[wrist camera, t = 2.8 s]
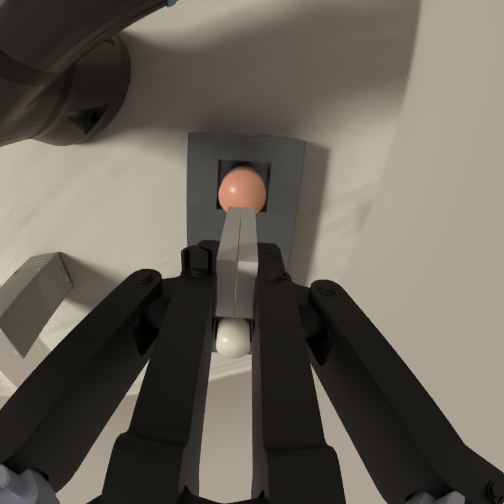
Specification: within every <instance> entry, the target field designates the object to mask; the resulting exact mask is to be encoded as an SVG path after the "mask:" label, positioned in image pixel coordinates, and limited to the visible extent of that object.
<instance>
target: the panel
mask: <svg viewBox="0 0 504 504" xmlns="http://www.w3.org/2000/svg"><path fill="white" fill-rule="evenodd" d="M304 150H305V141H303V140H300V139H295V138H287V137H277V136H267V135H256V134H242V133H224V132H191V133H188V156H187V247H188V246H193V245H197V244H198V243H199V242H201V241H202V240H217V241H221V237H222V232H223V228H224V224H225V219H226V215H227V212H226V211H225V210H224V209H223V208H222V206H221V204H220V202H219V189H220V186H221V184H222V182H223V179H224V177H225V175H226V174H227V173H228V172H229V171H230V170H231V169H233V168H235V167H238V166H248V167H251V168H253V169H255V170H256V171H257V172H258V173H259V174H260V175H261V177H262V179H263V183H264V187H265V191H266V200H265V203H264V205H263V207H262V209H261V210H260V211H259V212H258V213H256V214H255V219H256V235H257V242H258V243H273V244H276V245H277V246H278V247H279V248H280V250H281V255H282V259H283V264H284V268H285V271H286V272H287V269H288V263H289V257H290V251H291V244H292V238H293V231H294V225H295V218H296V211H297V204H298V197H299V189H300V182H301V174H302V166H303V158H304ZM240 225H241V220H240ZM239 238H240V235H239ZM238 251H239V250H238ZM234 316H235V305H234ZM223 318H225V317H219V316H216V314H215V330H214V338H213V346H212V352H218V351H217V349H216V341H217V333H218V325H219V322H220V321H221V320H222V319H223ZM244 319H245V320H246V321H247V322H248V323H249V326H250V338H251V329H252V319H253V317H252V319H250V318H244ZM218 353H219V352H218ZM247 354H252V340H250V350H249V352H248V353H247Z"/></svg>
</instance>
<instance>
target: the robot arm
mask: <svg viewBox="0 0 504 504" xmlns="http://www.w3.org/2000/svg"><path fill="white" fill-rule="evenodd" d="M176 1H178V0H0V147H1V146H5V145H8V144H12V143H15V142H19V141H22V140H26V139H34V140H37V141H41V142H44V143H48V144H51V145H55V146H67V145H72V144H76V143H80V142H83V141H86V140H88V139H90V138H92V137H94V136H95V135H97V134H98V133H99V132H100V131H102V130H103V129H104V128H105V127H106V126H107V125H108V124H109V123H110V121H111V120H112V119H113V117H114V116H115V115H116V113H117V112H118V110H119V108H120V106H121V104H122V102H123V100H124V98H125V95H126V92H127V89H128V85H129V80H130V59H129V54H128V51H127V49H126V47H125V45H124V44H123V42H122V41H121V40H120V39H119V38H118V37H117V36H116V35H115V34H117V33H118V32H120V31H122V30H123V29H125V28H126V27H128V26H130V25H131V24H133V23H135V22H137V21H138V20H140V19H142V18H144V17H145V16H147V15H149V14H151V13H153V12H155V11H157V10H159V9H161V8H163V7H165V6H167V8H168V7H171V6H173V5H175V4H176ZM240 220H241V225H240ZM239 235H240V238H239ZM238 250H239V251H238ZM181 262H182V272H181V274H180V276H178V277H174V278H167V279H162V276H161V274H160V273H159V272H158V271H156V270H153V269H141V270H138V271H135V272H134V273H132V274H131V275H130V276H129V277H127V278H126V279H125V280H124V281H123V282H122V283H121V284H120V285H119V286H118V287H116V288H115V289H114V290H113V291H112V292H111V293H110V294H109V295H108V296H107V297H106V298H105V299H104V300H103V301H101V302H100V303H99V304H98V305H97V306H96V307H95V308H94V309H93V310H92V311H91V312H90V313H89V314H88V315H87V316H86V317H85V318H84V319H83V320H82V321H81V322H80V323H79V324H78V325H77V326H76V327H75V328H74V329H73V330H72V331H71V332H70V333H69V334H68V335H67V336H66V337H65V338H64V339H63V340H62V341H61V342H60V343H59V344H58V345H57V346H56V347H55V348H54V349H53V350H52V351H51V353H50V354H49V355H48V356H47V357H46V358H45V359H44V360H43V361H42V362H41V363H40V364H39V365H38V367H37V368H36V369H35V370H34V371H33V372H32V373H31V374H30V375H29V377H28V378H27V379H26V380H25V381H24V382H23V383H22V385H21V386H20V387H19V388H18V389H17V390H16V392H15V393H14V394H13V395H12V396H11V398H10V399H9V400H8V401H7V403H6V404H5V405H4V406H3V407H2V409H1V410H0V504H60V502H59V500H58V498H56V495H55V493H57V492H58V491H59V490H61V489H62V488H63V487H64V485H66V483H68V482H69V481H70V479H71V478H72V477H73V475H74V474H75V472H76V471H77V470H78V468H79V466H80V465H81V463H82V462H83V460H84V458H85V457H86V455H87V454H88V452H89V450H90V449H91V447H92V445H93V444H94V442H95V441H96V439H97V438H98V436H99V435H100V433H101V432H102V430H103V428H104V427H105V425H106V424H107V422H108V420H109V419H110V417H111V416H112V415H113V413H114V411H115V410H116V408H117V407H118V405H119V404H120V402H121V401H122V399H123V398H124V396H125V395H126V393H127V392H128V390H129V389H130V387H131V386H132V384H133V383H134V381H135V380H136V378H137V377H138V375H139V374H140V372H141V371H142V369H143V368H144V366H145V365H146V363H147V362H148V360H149V359H150V360H149V363H148V366H147V370H146V373H145V376H144V379H143V382H142V385H141V389H140V392H139V395H138V399H137V402H136V405H135V409H134V412H133V416H132V419H131V423H130V426H129V429H128V430H127V432H125V433H122V434H120V435H119V436H118V437H117V439H116V441H115V444H114V446H113V450H112V453H111V457H110V461H109V465H108V469H107V473H106V477H105V482H104V486H103V490H102V495H100V496H98V497H96V498H95V499H93V500H92V501H90V502H88V503H87V504H223V503H218V502H214V501H211V500H208V499H205V498H202V497H199V462H200V452H201V442H202V431H203V422H204V413H205V404H206V395H207V386H208V378H209V370H210V361H211V353H212V346H213V338H214V330H215V314H216V316H219V317H234V318H250V319H252V317H253V319H252V329H251V338H250V340H252V435H253V436H252V441H253V442H252V443H253V478H252V490H251V499H250V500H245V501H239V502H234V503H227V504H346V501H345V495H344V488H343V482H342V477H341V471H340V466H339V461H338V457H337V453H336V452H335V450H334V448H333V447H331V446H329V445H327V443H326V441H325V438H324V433H323V427H322V421H321V416H320V411H319V406H318V400H317V395H316V390H315V385H314V380H313V375H312V370H311V365H312V367H313V369H314V371H315V372H316V374H317V376H318V378H319V380H320V382H321V384H322V386H323V388H324V389H325V391H326V393H327V395H328V397H329V399H330V401H331V403H332V405H333V406H334V408H335V410H336V412H337V414H338V416H339V418H340V420H341V422H342V423H343V425H344V427H345V429H346V431H347V433H348V435H349V436H350V438H351V440H352V442H353V444H354V446H355V448H356V450H357V452H358V454H359V455H360V457H361V459H362V461H363V463H364V465H365V467H366V469H367V471H368V472H369V474H370V476H371V478H372V480H373V482H374V484H375V486H376V487H377V489H378V491H379V492H380V494H381V495H382V497H383V499H384V500H385V501H386V502H387V503H388V504H503V503H504V473H503V472H502V471H500V470H499V469H497V468H496V467H495V466H493V465H492V464H491V463H489V462H488V461H486V460H485V459H484V458H482V457H481V456H479V455H478V454H477V453H475V452H474V451H473V450H471V449H470V448H469V447H467V446H466V445H465V444H464V443H463V441H462V440H461V438H460V437H459V435H458V434H457V432H456V431H455V430H454V428H453V427H452V425H451V424H450V422H449V421H448V420H447V418H446V417H445V415H444V414H443V413H442V411H441V410H440V409H439V407H438V406H437V405H436V403H435V402H434V400H433V399H432V398H431V396H430V395H429V394H428V392H427V391H426V390H425V389H424V387H423V386H422V385H421V383H420V382H419V381H418V379H417V378H416V377H415V375H414V374H413V373H412V372H411V370H410V369H409V368H408V366H407V365H406V364H405V363H404V361H403V360H402V359H401V357H400V356H399V355H398V354H397V352H396V351H395V350H394V349H393V348H392V346H391V345H390V344H389V343H388V341H387V340H386V339H385V338H384V336H383V335H382V334H381V333H380V332H379V330H378V329H377V328H376V327H375V325H374V324H373V323H372V322H371V321H370V319H369V318H368V317H367V316H366V315H365V314H364V313H363V311H362V310H361V309H360V308H359V307H358V305H357V304H356V303H355V302H354V301H353V299H352V298H351V297H350V296H349V295H348V294H347V292H346V291H345V290H344V289H343V288H342V287H341V286H340V285H339V284H337V283H335V282H333V281H330V280H316V281H314V282H313V283H311V287H310V288H308V287H304V286H301V285H297V284H295V283H293V282H292V279H291V276H290V275H289V274H288V273H287V272H286V271H285V268H284V264H283V259H282V255H281V250H280V248H279V247H278V246H277V245H276V244H273V243H258V242H257V235H256V219H255V208H245V207H242V213H241V207H230V206H229V207H228V211H227V215H226V219H225V224H224V228H223V232H222V237H221V241H217V240H202V241H201V242H199V243H198V244H197V245H193V246H188V247H186V248H184V249H183V250H182V251H181ZM237 263H238V266H237ZM236 277H237V282H236ZM235 291H236V299H235ZM234 305H235V316H234ZM310 363H311V365H310Z"/></svg>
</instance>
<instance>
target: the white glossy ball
mask: <svg viewBox="0 0 504 504" xmlns="http://www.w3.org/2000/svg"><path fill="white" fill-rule="evenodd" d="M216 349H217V351H218V352H219V353H220V354H221V355H222V356H224V357H227V358H240V357H243V356H245V355H246V354H247V353H248V352H249V350H250V326H249V323H248V322H247V321H246V320H245V319H244V318H234V317H225V318H223V319H222V320H221V321H220V322H219V325H218V333H217V341H216Z"/></svg>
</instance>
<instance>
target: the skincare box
mask: <svg viewBox="0 0 504 504" xmlns="http://www.w3.org/2000/svg"><path fill="white" fill-rule="evenodd" d="M72 288H73V285H72V283H71V281H70V279H69V277H68V275H67V273H66V270H65V268H64V266H63V263H62V261H61V258H60V255H59V253H58V252H57V253H51V254H44V255H39V256H35V257H31V258H29V259H28V260H27V261H26V262H25V263H24V264H23V265H22V266H21V267H20V268H19V269H18V270H17V271H16V272H15V273H14V274H13V275H12V276H11V277H10V278H9V279H8V280H7V281H6V282H5V283H4V284H3V285H2V287H1V288H0V351H2V352H4V353H6V354H7V355H9V356H17V357H20V358H23V359H24V358H25V356H26V354H27V353H28V351H29V349H30V348H31V346H32V345H33V343H34V342H35V340H36V338H37V337H38V335H39V334H40V332H41V331H42V329H43V328H44V326H45V325H46V323H47V322H48V321H49V319H50V318H51V316H52V315H53V313H54V312H55V311H56V309H57V308H58V306H59V305H60V304H61V302H62V301H63V300H64V298H65V297H66V296H67V294H68V293H69V292H70V290H71V289H72Z"/></svg>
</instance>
